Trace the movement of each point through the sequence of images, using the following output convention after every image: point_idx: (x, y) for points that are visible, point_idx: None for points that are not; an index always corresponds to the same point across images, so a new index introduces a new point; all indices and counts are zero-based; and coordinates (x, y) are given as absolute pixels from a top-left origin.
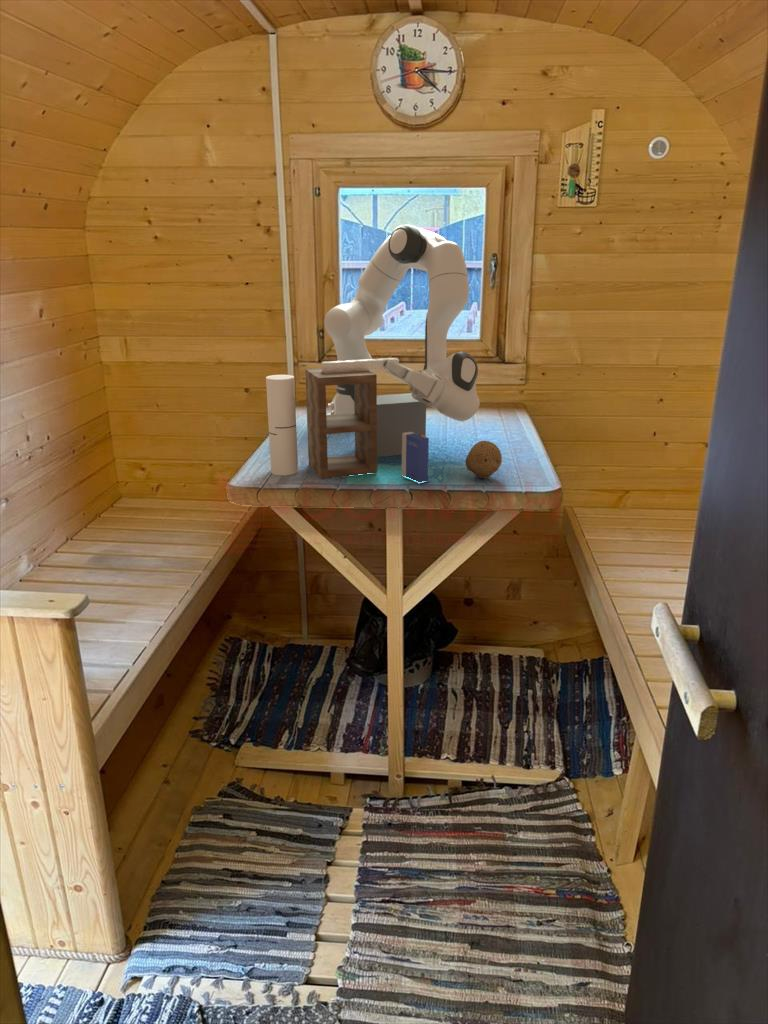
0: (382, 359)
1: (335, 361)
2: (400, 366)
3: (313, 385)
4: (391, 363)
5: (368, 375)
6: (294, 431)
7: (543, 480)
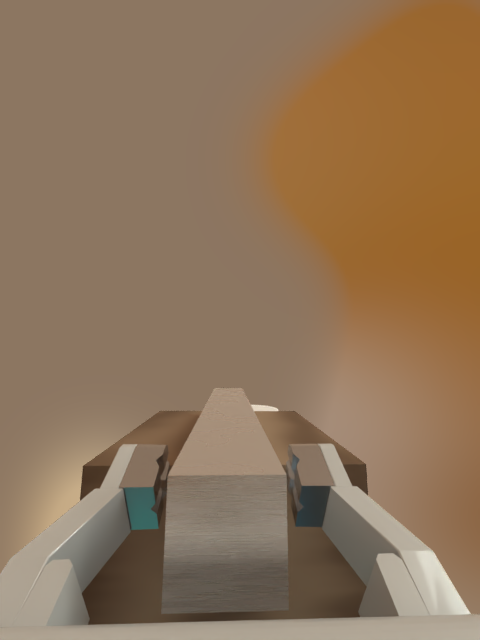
0: (217, 428)
1: (232, 392)
2: (224, 626)
3: None
4: (116, 460)
5: (102, 453)
6: None
7: None
